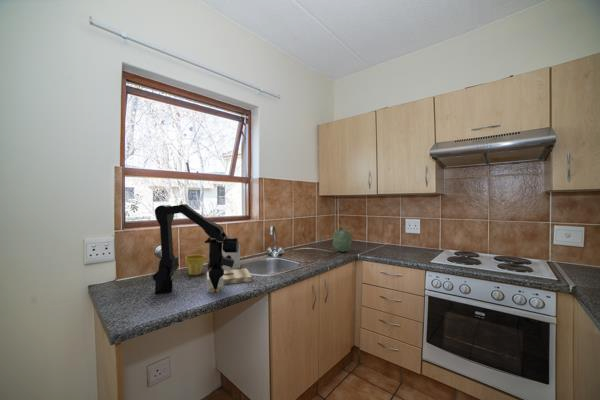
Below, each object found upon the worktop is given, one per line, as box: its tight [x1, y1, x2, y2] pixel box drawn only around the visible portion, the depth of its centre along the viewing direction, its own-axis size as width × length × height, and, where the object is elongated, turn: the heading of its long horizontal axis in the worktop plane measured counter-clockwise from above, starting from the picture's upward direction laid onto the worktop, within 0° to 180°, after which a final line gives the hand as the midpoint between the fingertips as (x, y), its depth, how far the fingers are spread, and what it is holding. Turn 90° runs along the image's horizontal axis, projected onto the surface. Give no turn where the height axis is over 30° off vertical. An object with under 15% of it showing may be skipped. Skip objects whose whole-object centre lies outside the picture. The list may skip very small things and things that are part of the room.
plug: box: [206, 276, 224, 293], centre depth 113 cm, size 7×5×6 cm, turn 113°
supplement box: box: [222, 243, 241, 270], centre depth 150 cm, size 9×9×15 cm
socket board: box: [206, 267, 253, 285], centre depth 130 cm, size 22×16×2 cm
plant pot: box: [184, 254, 206, 276], centre depth 139 cm, size 10×10×10 cm
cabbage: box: [332, 228, 353, 253], centre depth 205 cm, size 16×19×20 cm
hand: (214, 285), depth 113 cm, fingers open, 9 cm apart
